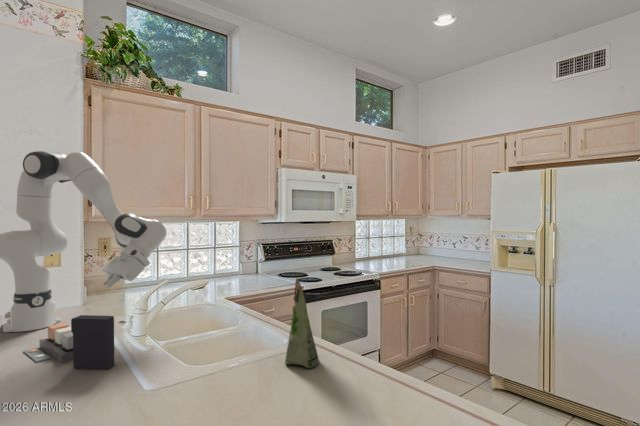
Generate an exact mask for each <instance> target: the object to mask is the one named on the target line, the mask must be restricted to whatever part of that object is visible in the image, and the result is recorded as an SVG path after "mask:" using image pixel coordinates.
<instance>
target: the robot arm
mask: <svg viewBox="0 0 640 426" xmlns="http://www.w3.org/2000/svg"><path fill="white" fill-rule="evenodd" d="M22 167H23V171H22V172H21V173H20V177H19V179H18V184H17V191H16V211H15V212H16V215H17V216H18V217H19V218H20V219H22V220H23V221H25V222H28V224H29V225H30V229H28V230H27V229H26V230H12V231H7V232H3V233H0V259H1V260H3V261H4V262H5V263H6V264H7V265H8V266H9V267H10V269H11V271H12V273H13V276H14V287H15V289H14V292H15V293H14V294H13V297H12V298H13V300H12V301H13V303H12V306H11V307H10V310H9V311H7V312H4V318H5V319H7V320H5V321H3V322H2V333H12V332H14V333H15V332H16V333H18V332H30V331H36V330H41V329H44V328H48V326H51V325H56V323H57V324H58V323H60V322H61V321H62V318H61V317H58V316H57V304H56V303H57V302H56V301H54V300H52V294H53V293H52V289H51V276H50V275H51V273H50V270H49V269H48V268H46V267H45V266H41V265H39V264H38V263H37V261H36V258H37V257H44V256H45V257H47V256H48V257H49V256H53V255H56V254H59V253H62V252H64V251H65V250H66V249H67V247H68V243H69V240H68V236H67V235H66V233H65V232H64V231H63V230H61V229H60V228H59V227H58V226H57V225H56V223H55V221H54V218H53V214H52V210H53V209H52V204H53V203H52V202H53V201H52V200H53V198H52V197H53V187H54V184H56V183H57V182H59V183H60V184H62V183H66V182H70V181H71V182H72V184H73V185H74V186H75V187H76V188H77V189H78V191H80V193H81V194H82V195H83V196H84V197H85V198H86V199H87V200H88V201H90V203H91V204H92V205H93V206H94V207H95V208H96V209H97V210H98V211H99V212H100V214H101V215H102V216H103V218H104V219H105V220H106V222H107V223H108V224H109V225H110V227H111V228H112V230H113V232H114V234H115V235H114V236H115V242H116V243H117V244H118V245H119V246H120V247H121V248H123V249H122V251H120V256H118V255H117V256H115V257H114V258H112V259H111V260H110V261H108V263H107V264H106V265H104V267H103V268H102V269H101V271H102V273H104V274H105V275H106V276H107V278H106V280H105V281H104V283H102V285H103V286H104V287H105V288H109V289H111V288H112V287H113V286H114V285H115V284H116V283H118V282H119V281H120V280H125V281H129V282H132V281H133V280H134V281H135V280H136V278H138V276H139V275H141V273H142V272H143V271H144V270H145V269H146V268H147V267H149V266H150V264H151V262H150V261H149V258H150V256H151V254H152V253H153V252H154V251H155V250H157V248H159V246H161V244H162V243H163V242H164V240H165V238H166V237H167V233H168V232H167V229H166V227H165V225H164V224H162V222H161V221H159V220H157V219H147V218H143V217H140V216H137V215H136V214H134V213H130V212H129V213H124V214H123V212H122V211H121V210H120V208H119V207H118V205H117V204H116V201H115V197H114V195H113V190H112V185H111V183H110V180H109V179H108V177H107V175H106V174H105V172H104V171H103V169H102V168H100V166H99V165H98V164H97V163H96V162H95V161H94V160H93V159H92V158H91V157H90V156H89V155H87V154H86V153H84V152H81V151H74V152H73V151H72V152H70V153H68V154H64V153H60V152H51V151H50V152H49V151H48V152H47V151H43V150H42V151H40V150H39V151H38V150H37V151H31V152H29V153H27V154H26V155H25V156H24V158H23V161H22Z"/></svg>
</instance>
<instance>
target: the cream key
mask: <svg viewBox="0 0 640 426" xmlns="http://www.w3.org/2000/svg"><path fill="white" fill-rule="evenodd" d="M71 332H72V331H71V326H68V327H67V328H62V329H58V330H55V342H56V343H58V344H62V334H66V333H71Z"/></svg>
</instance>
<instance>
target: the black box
mask: <svg viewBox="0 0 640 426" xmlns="http://www.w3.org/2000/svg"><path fill="white" fill-rule="evenodd" d="M70 327H71V331H72V333H73V360H72V362H73V369H75V370H99V371H100V370H101V371H108V370H109V369H112V368H113V367H115V316H114V315H93V314H92V315H84V314H81V315H78V316H75V317H72V318H71V320H70Z"/></svg>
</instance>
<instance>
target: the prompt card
mask: <svg viewBox="0 0 640 426" xmlns="http://www.w3.org/2000/svg"><path fill="white" fill-rule="evenodd" d="M22 353H24V354H25V355H26V354H27V355H26V356H28V357H29V358H30V357H31V358H32V359H31V358H30V359H31V360H32V361H34V362H35V363H41V362H44V361H47V360H48V361H49V360H51V356H49V355H48V354H47V353H46V352H45V351H44V352H43V350H42V349H40V348H38V347H34V348H30V349H25V350H23V351H22Z"/></svg>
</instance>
